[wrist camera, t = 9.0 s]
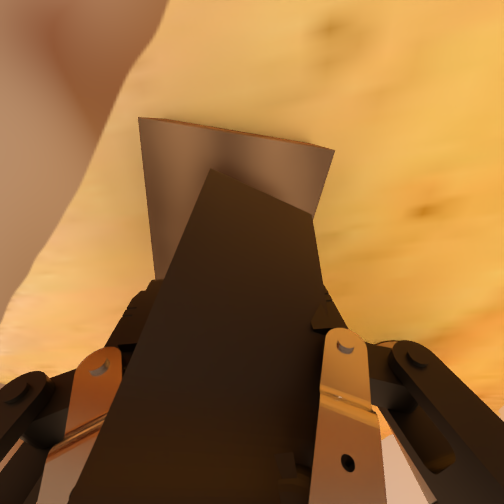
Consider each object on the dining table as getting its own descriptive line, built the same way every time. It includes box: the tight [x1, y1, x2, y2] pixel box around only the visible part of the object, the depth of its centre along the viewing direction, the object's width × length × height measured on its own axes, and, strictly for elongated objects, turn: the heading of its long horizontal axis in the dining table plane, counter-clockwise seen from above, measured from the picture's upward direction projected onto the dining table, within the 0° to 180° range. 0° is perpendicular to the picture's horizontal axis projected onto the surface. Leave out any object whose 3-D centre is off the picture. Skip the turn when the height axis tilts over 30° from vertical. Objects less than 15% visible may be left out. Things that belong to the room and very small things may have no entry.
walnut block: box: [138, 117, 335, 279], centre depth 20 cm, size 13×13×6 cm
